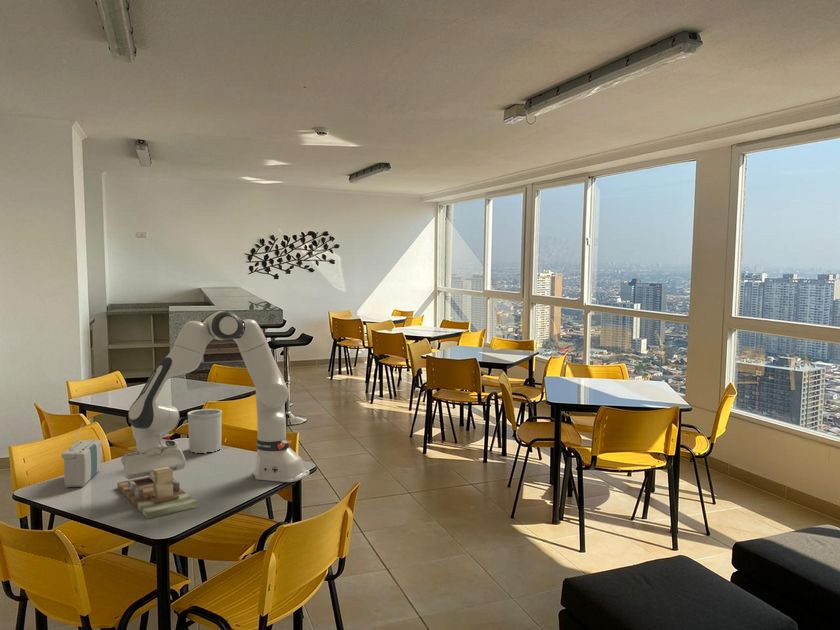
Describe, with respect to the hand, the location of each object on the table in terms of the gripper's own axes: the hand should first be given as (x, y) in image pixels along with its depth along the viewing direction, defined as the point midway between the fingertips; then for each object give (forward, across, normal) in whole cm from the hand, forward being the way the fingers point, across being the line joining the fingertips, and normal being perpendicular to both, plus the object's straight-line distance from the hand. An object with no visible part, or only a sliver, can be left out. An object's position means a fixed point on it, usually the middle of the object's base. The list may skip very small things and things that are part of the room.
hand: (160, 483), depth 210 cm
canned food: (-28, +14, +37) cm, 48 cm away
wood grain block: (+5, 0, +1) cm, 5 cm away
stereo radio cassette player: (-25, -16, +34) cm, 45 cm away
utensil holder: (-34, +36, +43) cm, 65 cm away
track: (+1, 0, +8) cm, 8 cm away
